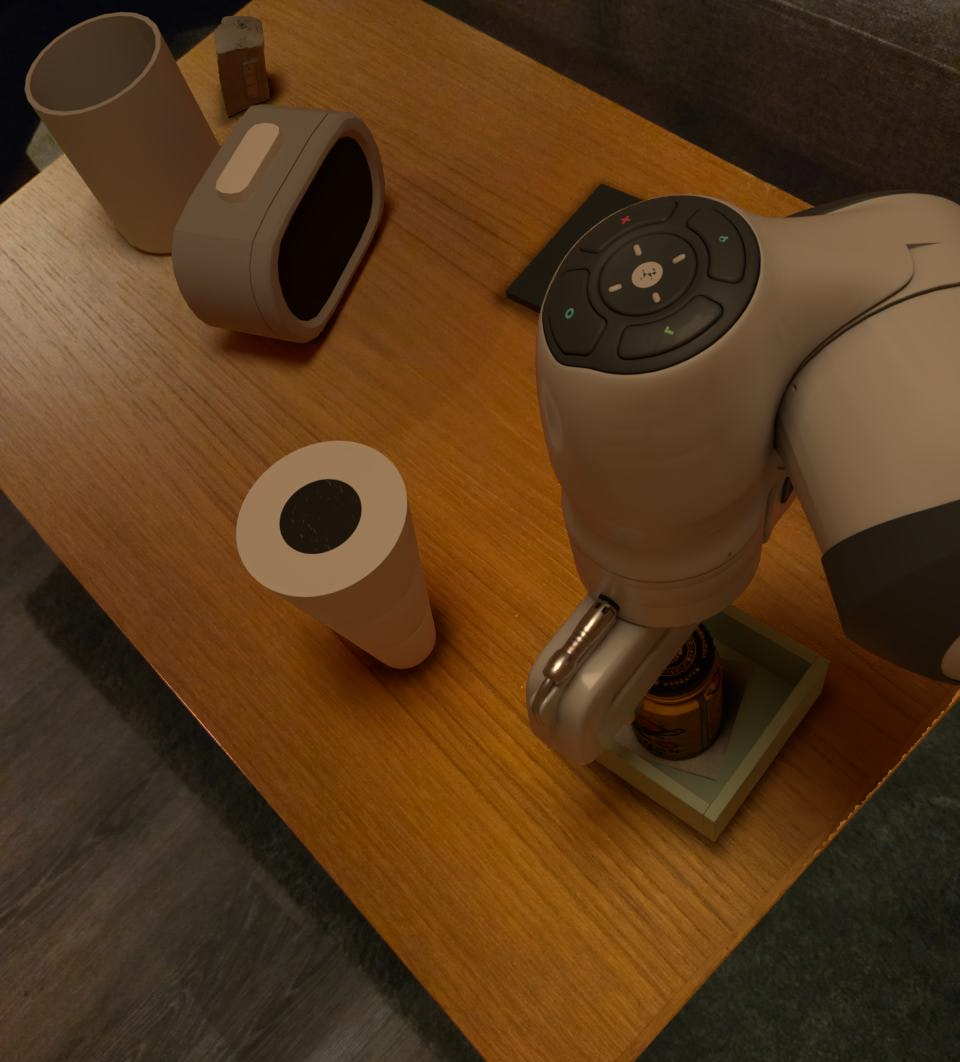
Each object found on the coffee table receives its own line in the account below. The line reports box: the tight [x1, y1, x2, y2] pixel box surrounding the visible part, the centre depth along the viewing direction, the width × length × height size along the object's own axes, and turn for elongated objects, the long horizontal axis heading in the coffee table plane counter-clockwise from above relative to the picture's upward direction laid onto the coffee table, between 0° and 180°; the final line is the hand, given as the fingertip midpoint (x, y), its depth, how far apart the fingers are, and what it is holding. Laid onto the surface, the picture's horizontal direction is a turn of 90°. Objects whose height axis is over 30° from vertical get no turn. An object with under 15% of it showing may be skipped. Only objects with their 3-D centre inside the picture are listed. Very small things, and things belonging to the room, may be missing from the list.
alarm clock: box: [171, 103, 386, 344], centre depth 86 cm, size 21×10×13 cm, turn 158°
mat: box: [505, 183, 646, 314], centre depth 83 cm, size 18×14×1 cm
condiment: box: [614, 623, 752, 780], centre depth 61 cm, size 7×8×12 cm
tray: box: [594, 604, 831, 843], centre depth 65 cm, size 14×13×5 cm
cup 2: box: [235, 440, 437, 670], centre depth 66 cm, size 11×11×18 cm
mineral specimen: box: [213, 15, 271, 117], centre depth 101 cm, size 7×9×8 cm
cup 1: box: [24, 11, 222, 255], centre depth 94 cm, size 13×18×16 cm
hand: (672, 647), depth 58 cm, fingers open, 8 cm apart
